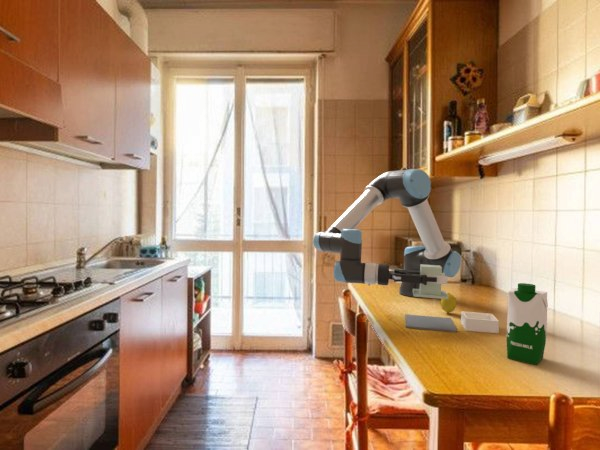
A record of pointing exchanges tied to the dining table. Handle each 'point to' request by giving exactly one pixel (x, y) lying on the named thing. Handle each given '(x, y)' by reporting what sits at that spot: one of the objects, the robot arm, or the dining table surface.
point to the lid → (431, 288)
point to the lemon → (448, 303)
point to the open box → (479, 322)
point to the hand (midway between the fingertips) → (445, 278)
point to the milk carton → (526, 324)
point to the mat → (430, 323)
